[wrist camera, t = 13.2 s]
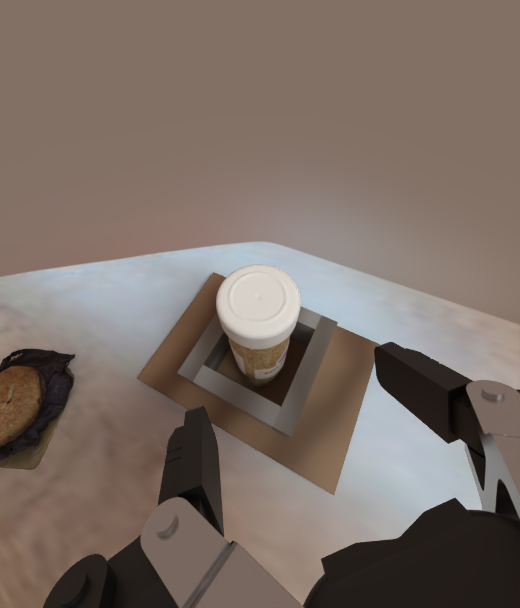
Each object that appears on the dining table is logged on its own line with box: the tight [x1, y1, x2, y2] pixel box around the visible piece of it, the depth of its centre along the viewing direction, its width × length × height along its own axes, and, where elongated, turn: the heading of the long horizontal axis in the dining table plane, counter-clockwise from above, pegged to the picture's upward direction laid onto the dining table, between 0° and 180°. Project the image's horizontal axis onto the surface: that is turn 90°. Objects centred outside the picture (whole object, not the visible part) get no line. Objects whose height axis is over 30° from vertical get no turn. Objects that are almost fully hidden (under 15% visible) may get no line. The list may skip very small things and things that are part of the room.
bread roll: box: [0, 349, 75, 470], centre depth 23 cm, size 11×8×4 cm
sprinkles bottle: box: [216, 265, 301, 387], centre depth 19 cm, size 5×5×14 cm
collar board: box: [137, 273, 380, 495], centre depth 24 cm, size 20×14×6 cm
